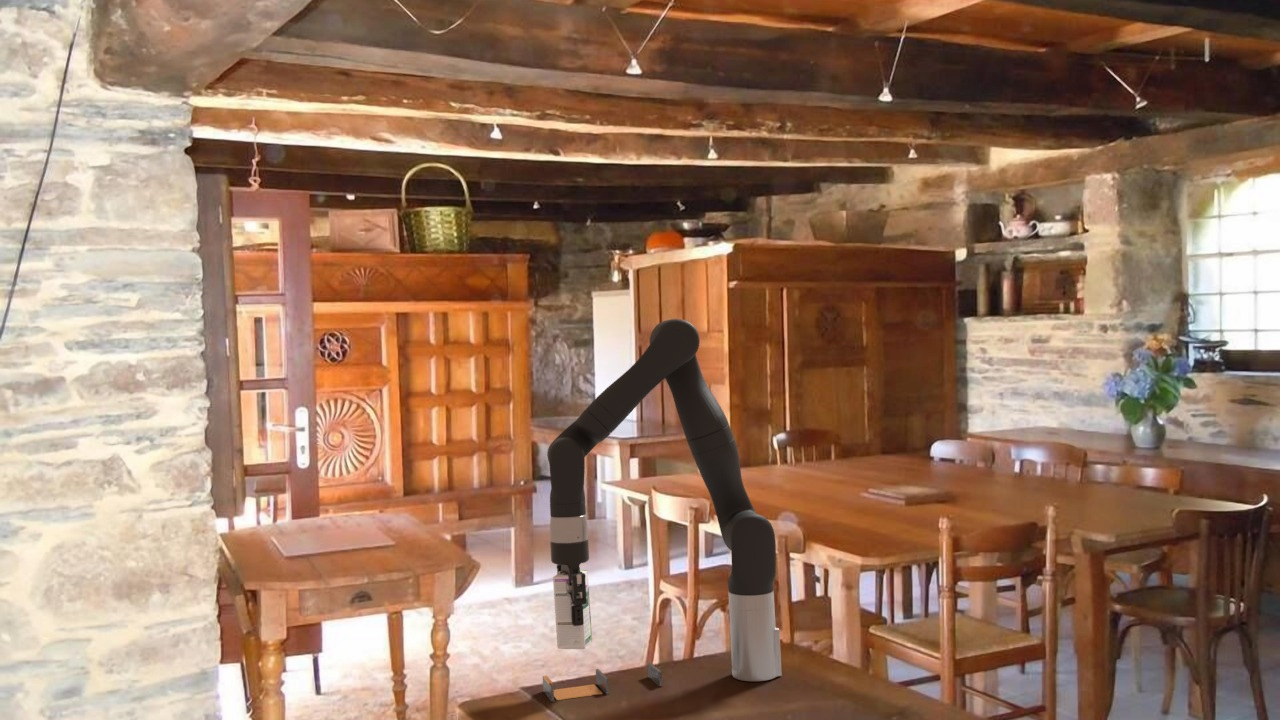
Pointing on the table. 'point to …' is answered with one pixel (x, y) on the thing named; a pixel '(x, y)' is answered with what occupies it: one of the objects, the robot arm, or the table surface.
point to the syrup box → (565, 630)
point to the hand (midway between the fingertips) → (572, 620)
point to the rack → (591, 689)
